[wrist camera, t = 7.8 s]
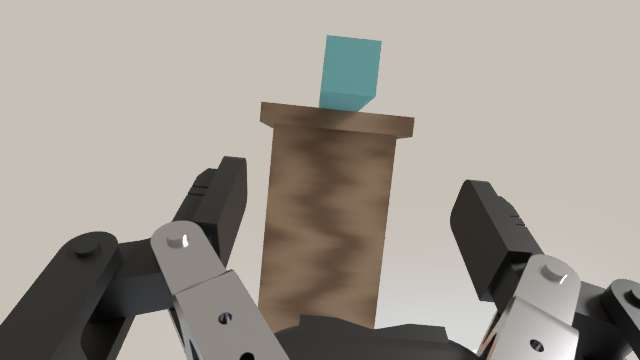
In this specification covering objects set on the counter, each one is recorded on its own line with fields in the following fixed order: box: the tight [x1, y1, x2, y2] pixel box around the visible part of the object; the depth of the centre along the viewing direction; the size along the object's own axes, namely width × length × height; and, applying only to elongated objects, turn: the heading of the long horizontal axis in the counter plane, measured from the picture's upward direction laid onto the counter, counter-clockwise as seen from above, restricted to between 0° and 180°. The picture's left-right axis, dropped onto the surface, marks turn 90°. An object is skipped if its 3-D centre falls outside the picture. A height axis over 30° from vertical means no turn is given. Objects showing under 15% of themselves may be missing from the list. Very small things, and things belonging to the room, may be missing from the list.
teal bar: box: [319, 35, 381, 112], centre depth 31 cm, size 3×24×3 cm, turn 1°
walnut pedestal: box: [258, 102, 414, 333], centre depth 35 cm, size 16×16×32 cm
